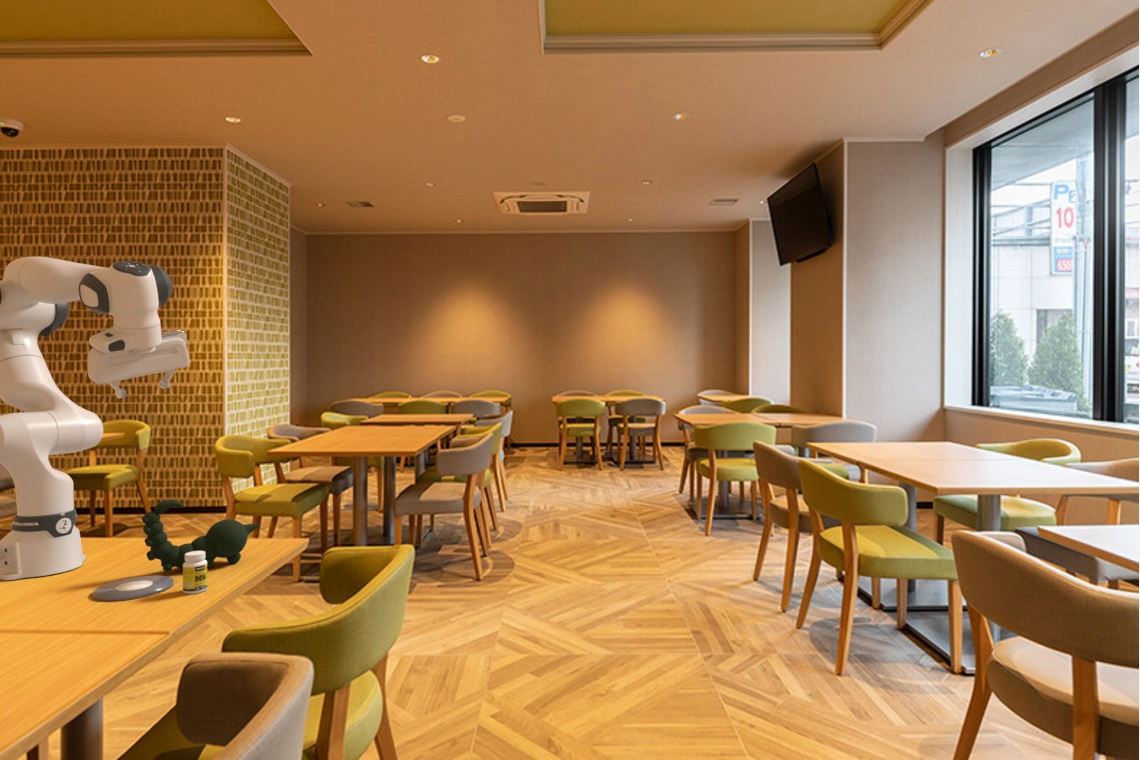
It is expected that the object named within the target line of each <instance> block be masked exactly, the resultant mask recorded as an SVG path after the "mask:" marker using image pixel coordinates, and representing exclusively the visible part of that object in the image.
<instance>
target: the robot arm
mask: <svg viewBox="0 0 1140 760" xmlns="http://www.w3.org/2000/svg"><path fill="white" fill-rule="evenodd" d="M173 285H174V284H173V282H172V279H171V277H170V275H169V274H168V273H167V272H166V271H165V270H164V269H163V268H161V267H159V266H158V265H156V264H154V263H148V264H146V263H143V262H140V261H134V260H133V261H132V260H120V261H116V262H114V263H112V264H111V265H110V267H107V266H106V267H105V266H97V265H92V264H88V263H87V264H86V263H80V262H79V263H78V262H75V261H71V260H70V261H69V260H64V259H60V258H54V257H48V256H25V257H24V256H23V257H19V258H17V259H14V260H13V261H10V262H9V263H8V264H7V265H6V267H5V269H4V271H3V277H2V279H1V280H0V399H1V401H2V402H3V403H4V404H7V405H8V406H10V407H12V408H15V409H18V410H21V411H23V412H10V413H7V414H1V415H0V464H1V465H2V467H4V468H5V469H6V470H7V471H8V474H9V475H10V476H11V478H12V480H13V484H14V487H15V489H14V490H15V491H14V492H15V499H16V514H15V516H9V519H12V520H9V523H12V525H11V530H10V532H8V533H7V534H6V535H5V536H4V537H2V538H1V539H0V580H2V581H13V580H19V579H25V578H26V579H27V578H36V577H43V576H50V575H54V574H60V573H64V572H69V571H71V570H74V569H78V568H79V567H81V566H82V564H84V561H85V559H86V560H87V555H86V554H83V547H82V541H81V534H80V529H79V528H78V527H77V526H76V524H77V518H78V517H77V515H78V513H77V509H76V508H75V504H74V503H75V500H74V499H75V498H74V497H75V496H74V495H75V494H74V493H75V491H74V489H75V488H74V481H73V479H72V477H71V476H70V475H69V474H68V473H65V472H64V471H62V470H58V469H56V468H53V467H52V465H51V463H50V460H49V456H54V455H56V456H57V455H64V454H73V453H74V454H75V453H79V452H82V451H85V450H89V449H92V448H94V447H96V446H98V444H100V443H101V442H100V441H101V440H102V437H104V436H103V435H104V425H103V422H102V420H101V418H100V417H99V416H98V415H97V413H95V412H93V411H90V410H88V409H85V408H83V407H81V406H79V405H78V404H76V403H75V402H73V401H72V400H71V399H70V398H68V397H67V396H66V395H65V393H63V392H62V391H61V389H60V388H59V387H58V386H57V384H56V383H55V381H54V379H53V377H52V374H51V372H50V370H49V368H48V365H47V363H46V360H45V358H44V356H43V354H42V352H41V350H40V347H39V344H38V338H39V335H40V336H42V337H44V338H48V337H51V336H52V334H53V332H55V331H58V330H59V329H60V328H61V327H62V326H63V325H64V324H65V323H66V322H67V321H68V319H69V315H70V304H69V303H72V302H75V301H80V302H81V304H82V305H83V306H84V307H85V308H86V309H88V310H89V311H91V312H93V313H96V314H98V315H110V316H112V317H113V321H112V323H113V324H112V325H113V326H112V327H109V328H107V329H104V330H103V331H101V332H98V333H95V334H94V335H91V336H90V337H89V339H88V340H89V345H90V346H91V347H92V348H91V349H90V350H89V351H88V354H87V375H88V378H89V379H90V380H91V381H92V382H94V383H96V384H97V385H105V384H108V385H110V387H111V388H112V389H113V390H115V391H114V392H115V396H116V398H117V399H125V398H127V396H128V395H127V390H126V389H124V388H122V387H121V388H120V387H119V386H120V385H121V383H120V381H124V380H130V379H134V378H135V379H136V378H140V377H144V376H148V375H153V374H158V373H159V374H160V373H165V374H164V376H163V377H162V379H159V387H160V388H161V389H163V390H164V389H169V388H170V387H171V382H170V381H172V378H173V377H174V375H175V370H178V369H183V368H187V367H188V366H189V364H190V355H189V352H188V346H187V342H188V340H187V334H186V333H185V332H184V331H183V330H180V329H172V330H164V331H162V326H161V319H160V317H159V314H158V308H159V307H163V306H165V305H166V304H167V302H169V300H170V298H171V296H172V294H173V291H174V286H173Z"/></svg>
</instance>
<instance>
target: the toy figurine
mask: <svg viewBox="0 0 1140 760" xmlns="http://www.w3.org/2000/svg"><path fill="white" fill-rule="evenodd" d="M173 507H176V508H179V509H183V507H184V505H183V503H182V502H180V501H179V500H176V499H165V500H162V501H161V502H159V503H157V504H156V506H155V507H154V510H153V511H147V512H146V513H145V514H144V515H143V516H141V521H142V523H143V525H144V526H143V527H142V530H143V533H144V534H145V535H146V537H145V539H144V540H143V541H144V544H145V546H146V547H148V548H149V547H150V550H149V551H147V552H146V557H147V559H148V561H155V559H156V560H160V566H161V567H162V570H163V571H164V572H167V573H168V572H170V571H172V570H173V568H174V567H175V568H177V569H180V570H183V564H184V563H185V562H186V561H185V554H186V553H188V552H192V551H205V555H206V557H205V560H206V561H207V569H210V568H211V567H213V566H214V563H215V560H216V558H221V559H226V561H227V562H228V563H230V564H236V563H239V561H240V560H241V557H242V556H241V552H242V551H243V550H244V548H245V547H246V545H247V542H248V537H249V535H250V534H251V533H253V531H255V530H256V529H257V528H258V527H260V523H249V524H247V523H246V524H243V523H242V522H240V521H238V520H236V519H231V518H230V519H229V518H228V519H227V518H226V519H222V520H219V521H217V522H215V523H214V524H213V525H211V526H210V528H208V530H207V532H206V534H205V535H202V536H199V537H197V538H195V539H194V540H192V541H191V542H190V543H189V542H187V543H183V544H180V545H176V544H174V545H173V543H172V542H171V541H170V540H168V535H167V533H166V532H165V531H164V524H163V522H161V515H162V514H164V513H166V512H167V511H168V510H169V509H171V508H173Z"/></svg>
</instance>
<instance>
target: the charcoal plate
mask: <svg viewBox="0 0 1140 760" xmlns="http://www.w3.org/2000/svg"><path fill="white" fill-rule="evenodd" d="M173 586H174V578H172V577H171V576H167V575H143V576H134V577H130V578H129V577H128V578H123V579H119V580H115V581H111V582H107V583H106V584H103V585H100V586H98V587H97V588H95V589H94V590H93V591H92V598H93V597H94V598H95V599H94V598H93V599H94V600H96V599H97V601H100V600H102V602H122V601H121V600H123V601H130V599H131V600H137V598H138V599H141V598H142V597H143V598H147V597H151V596H153V595H154V594H155V595H158V594H160V592H161V593H163V592H165V591H167V589H168V590H169V589H170V587H171V588H173ZM157 593H158V594H157ZM150 595H151V596H150Z"/></svg>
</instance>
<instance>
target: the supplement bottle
mask: <svg viewBox="0 0 1140 760" xmlns="http://www.w3.org/2000/svg"><path fill="white" fill-rule="evenodd" d="M205 557H206V555H205V551H192V552H188V553H186V554H185V561H186V562H185V563H184V564H183V569H182V592H183V593H184V594H187V595H192V594H193V595H194V594H199V593H200V594H201V593H203V592H205V591H207V590H208V587H209V586H208V568H207V561H206V560H205Z"/></svg>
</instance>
